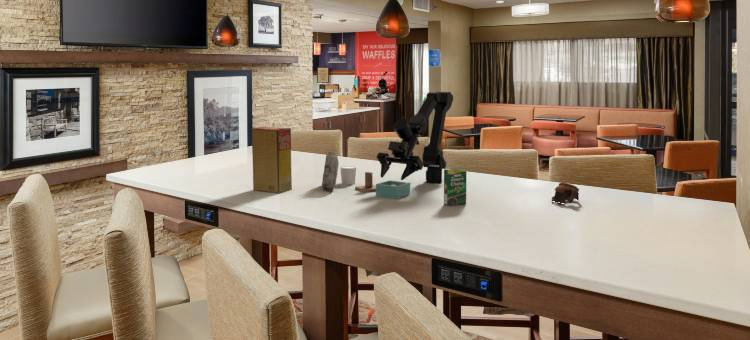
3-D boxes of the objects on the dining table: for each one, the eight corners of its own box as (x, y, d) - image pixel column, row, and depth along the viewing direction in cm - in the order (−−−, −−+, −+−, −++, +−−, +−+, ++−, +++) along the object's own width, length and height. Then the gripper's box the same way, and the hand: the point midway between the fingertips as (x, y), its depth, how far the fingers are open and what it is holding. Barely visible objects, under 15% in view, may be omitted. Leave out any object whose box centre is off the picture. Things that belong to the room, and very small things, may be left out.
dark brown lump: (544, 202, 214) (552, 181, 215) (566, 212, 216) (573, 192, 217) (562, 200, 202) (570, 179, 204) (585, 211, 204) (592, 190, 206)
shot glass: (354, 185, 242) (354, 168, 241) (338, 184, 243) (338, 168, 242) (358, 182, 248) (358, 166, 247) (342, 181, 250) (342, 165, 249)
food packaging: (293, 189, 233) (291, 127, 228) (278, 193, 225) (277, 129, 220) (267, 186, 239) (265, 126, 235) (252, 190, 231) (249, 128, 227)
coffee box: (446, 206, 204) (447, 169, 202) (442, 204, 207) (443, 168, 205) (466, 204, 207) (467, 168, 205) (462, 202, 210) (463, 167, 208)
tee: (372, 187, 238) (372, 170, 237) (382, 190, 231) (382, 173, 230) (355, 189, 234) (355, 172, 232) (365, 192, 227) (365, 175, 226)
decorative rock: (323, 184, 243) (323, 149, 240) (339, 184, 243) (339, 149, 240) (320, 192, 227) (319, 154, 224) (336, 192, 227) (336, 154, 224)
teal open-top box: (389, 191, 229) (389, 180, 229) (410, 194, 224) (410, 182, 223) (375, 195, 222) (375, 184, 221) (396, 198, 216) (397, 186, 215)
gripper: (379, 132, 227) (362, 163, 220) (420, 135, 217) (404, 167, 210) (389, 149, 235) (374, 180, 228) (430, 153, 224) (415, 185, 217)
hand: (391, 178), depth 220 cm, fingers open, 9 cm apart
